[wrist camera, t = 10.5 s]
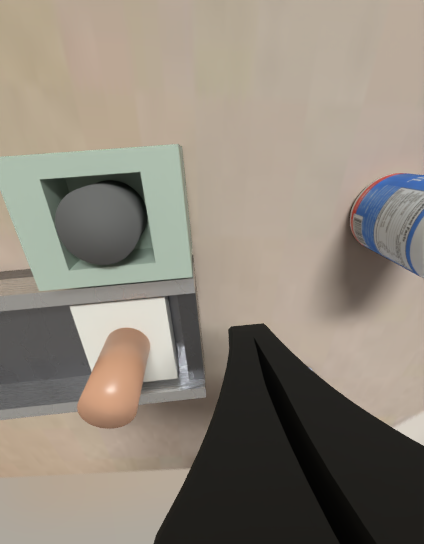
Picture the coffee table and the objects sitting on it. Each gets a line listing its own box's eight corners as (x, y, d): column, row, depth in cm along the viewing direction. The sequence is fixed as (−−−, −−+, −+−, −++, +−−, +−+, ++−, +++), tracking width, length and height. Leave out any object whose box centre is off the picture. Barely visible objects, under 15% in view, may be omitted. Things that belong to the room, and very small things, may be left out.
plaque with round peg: (178, 363, 21) (173, 445, 15) (102, 371, 21) (68, 457, 15) (166, 286, 18) (154, 350, 12) (78, 294, 18) (24, 363, 12)
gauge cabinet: (191, 244, 19) (192, 277, 14) (79, 254, 19) (39, 291, 14) (181, 146, 16) (178, 144, 11) (50, 155, 16) (-13, 157, 11)
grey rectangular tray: (203, 359, 24) (206, 397, 20) (-52, 386, 23) (-98, 430, 19) (193, 254, 19) (193, 278, 16) (-120, 282, 19) (-196, 314, 15)
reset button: (152, 242, 16) (144, 261, 13) (90, 247, 15) (68, 268, 13) (141, 177, 14) (129, 183, 11) (72, 182, 14) (43, 190, 11)
